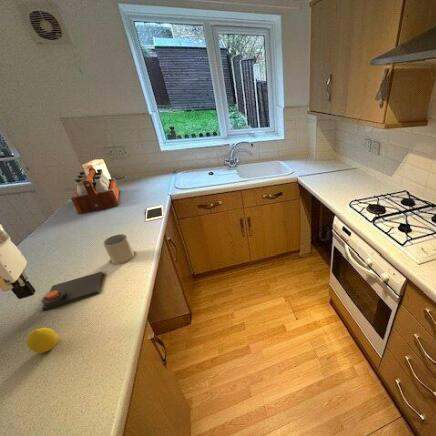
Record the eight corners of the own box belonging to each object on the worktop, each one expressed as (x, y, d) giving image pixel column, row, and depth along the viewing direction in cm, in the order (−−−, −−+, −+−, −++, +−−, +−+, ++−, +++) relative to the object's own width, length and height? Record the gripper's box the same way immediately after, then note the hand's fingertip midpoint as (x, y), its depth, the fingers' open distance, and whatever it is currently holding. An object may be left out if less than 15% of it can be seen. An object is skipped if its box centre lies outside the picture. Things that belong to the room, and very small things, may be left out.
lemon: (33, 362, 64) (15, 343, 61) (42, 344, 69) (26, 326, 65) (58, 353, 66) (43, 335, 62) (65, 337, 71) (52, 319, 67)
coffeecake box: (104, 183, 193) (93, 159, 183) (113, 183, 193) (103, 159, 184) (92, 190, 179) (81, 164, 170) (102, 189, 180) (91, 164, 171)
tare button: (46, 301, 79) (44, 298, 78) (49, 295, 82) (47, 292, 81) (58, 298, 80) (56, 294, 80) (60, 292, 83) (58, 289, 82)
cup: (107, 262, 102) (98, 243, 97) (125, 251, 108) (117, 233, 104) (121, 266, 99) (112, 247, 94) (139, 255, 106) (131, 236, 101)
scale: (44, 313, 79) (38, 305, 77) (55, 289, 89) (50, 282, 87) (99, 295, 85) (95, 288, 83) (103, 275, 95) (99, 268, 93)
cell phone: (162, 206, 150) (162, 205, 149) (163, 218, 135) (163, 217, 135) (147, 209, 146) (146, 208, 146) (146, 222, 132) (145, 220, 132)
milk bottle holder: (120, 190, 178) (109, 164, 169) (119, 207, 152) (107, 177, 142) (84, 196, 168) (72, 170, 159) (77, 215, 142) (61, 185, 133)
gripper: (-22, 231, 62) (19, 284, 70) (-58, 262, 50) (-3, 320, 59) (17, 223, 65) (52, 274, 74) (-8, 250, 53) (37, 307, 62)
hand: (27, 295), depth 66 cm, fingers closed
